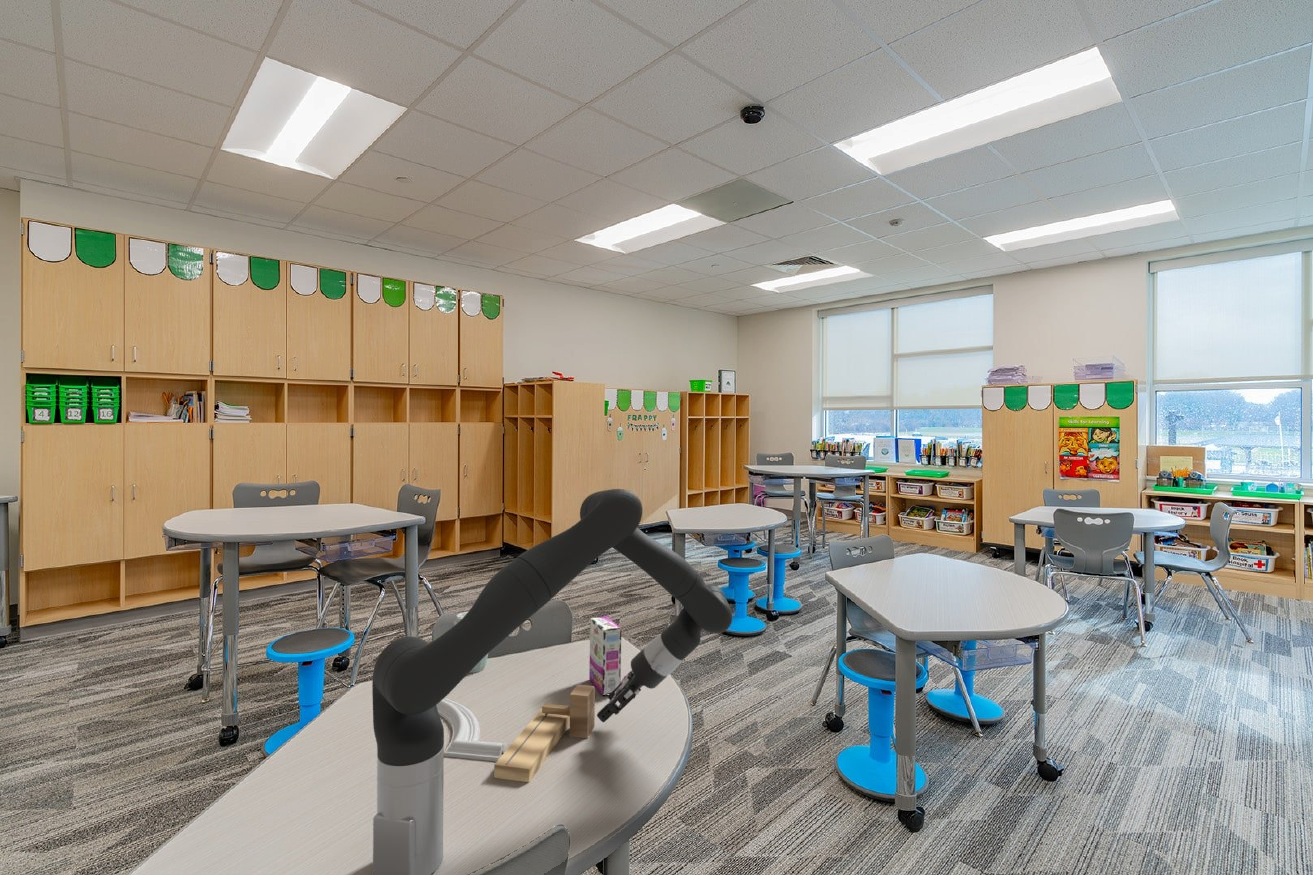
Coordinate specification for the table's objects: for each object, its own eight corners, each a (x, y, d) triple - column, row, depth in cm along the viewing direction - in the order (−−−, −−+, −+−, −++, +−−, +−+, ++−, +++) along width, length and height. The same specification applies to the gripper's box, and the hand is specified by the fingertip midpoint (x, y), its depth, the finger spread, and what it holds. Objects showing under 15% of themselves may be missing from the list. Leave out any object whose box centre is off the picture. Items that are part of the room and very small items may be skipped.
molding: (516, 758, 119) (517, 744, 119) (455, 778, 112) (456, 762, 112) (451, 684, 153) (451, 673, 153) (401, 695, 146) (401, 684, 146)
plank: (529, 782, 109) (529, 768, 109) (494, 777, 111) (494, 763, 111) (572, 720, 133) (572, 709, 133) (543, 717, 134) (543, 706, 134)
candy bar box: (621, 693, 147) (622, 627, 147) (602, 696, 145) (603, 630, 145) (606, 676, 157) (607, 615, 157) (588, 679, 155) (589, 617, 155)
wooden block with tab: (587, 738, 125) (587, 696, 125) (538, 732, 128) (539, 691, 128) (594, 726, 130) (594, 686, 130) (547, 721, 133) (547, 681, 132)
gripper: (651, 635, 133) (602, 681, 135) (638, 659, 119) (583, 711, 121) (675, 660, 132) (625, 706, 134) (664, 688, 118) (608, 739, 120)
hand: (605, 708), depth 128 cm, fingers open, 8 cm apart
